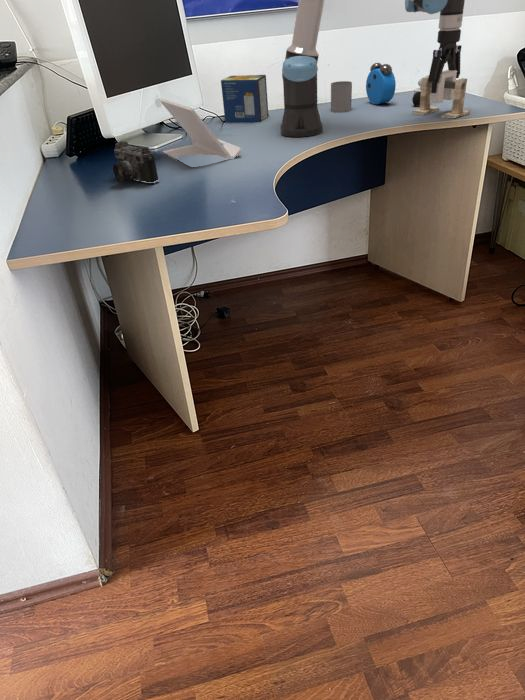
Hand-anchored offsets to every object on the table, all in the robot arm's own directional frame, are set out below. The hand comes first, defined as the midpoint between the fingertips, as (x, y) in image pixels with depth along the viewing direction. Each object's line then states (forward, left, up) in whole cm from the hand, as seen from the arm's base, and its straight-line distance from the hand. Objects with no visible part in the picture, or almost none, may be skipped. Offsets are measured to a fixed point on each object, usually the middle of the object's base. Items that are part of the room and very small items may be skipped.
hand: (441, 100), depth 194 cm
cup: (-13, +38, -5) cm, 40 cm away
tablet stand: (-88, +32, -5) cm, 93 cm away
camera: (-117, +25, -5) cm, 120 cm away
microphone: (+15, +16, -5) cm, 23 cm away
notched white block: (0, 0, 0) cm, 0 cm away
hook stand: (0, 0, -5) cm, 5 cm away
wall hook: (+26, +25, -5) cm, 36 cm away
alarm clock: (+4, +32, -5) cm, 33 cm away
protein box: (-45, +60, -5) cm, 75 cm away
